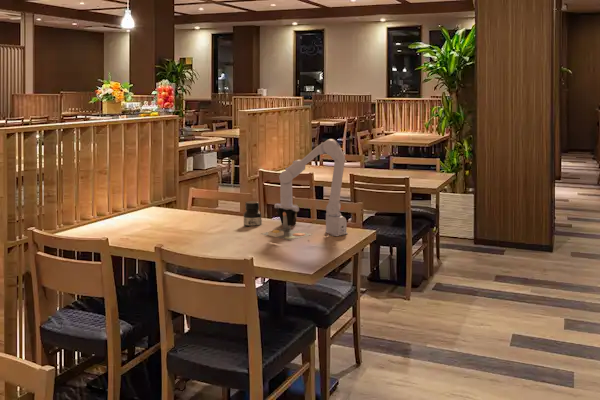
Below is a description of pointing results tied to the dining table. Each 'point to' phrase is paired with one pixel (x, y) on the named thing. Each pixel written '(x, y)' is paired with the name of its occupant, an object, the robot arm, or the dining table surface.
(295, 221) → the coffee mug
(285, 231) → the board
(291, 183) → the robot arm
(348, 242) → the dining table surface
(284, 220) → the marker
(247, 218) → the ink bottle
